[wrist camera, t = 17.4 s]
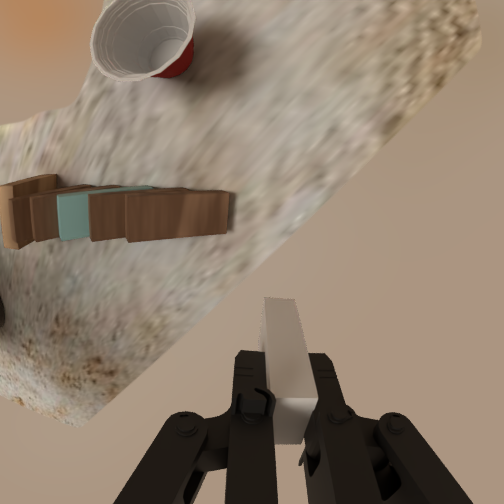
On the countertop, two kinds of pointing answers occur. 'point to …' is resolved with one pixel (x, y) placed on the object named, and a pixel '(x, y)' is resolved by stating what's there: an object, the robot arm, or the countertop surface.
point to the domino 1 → (28, 213)
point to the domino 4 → (112, 213)
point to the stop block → (16, 190)
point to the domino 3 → (79, 212)
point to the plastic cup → (143, 39)
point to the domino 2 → (50, 213)
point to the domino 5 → (175, 214)
